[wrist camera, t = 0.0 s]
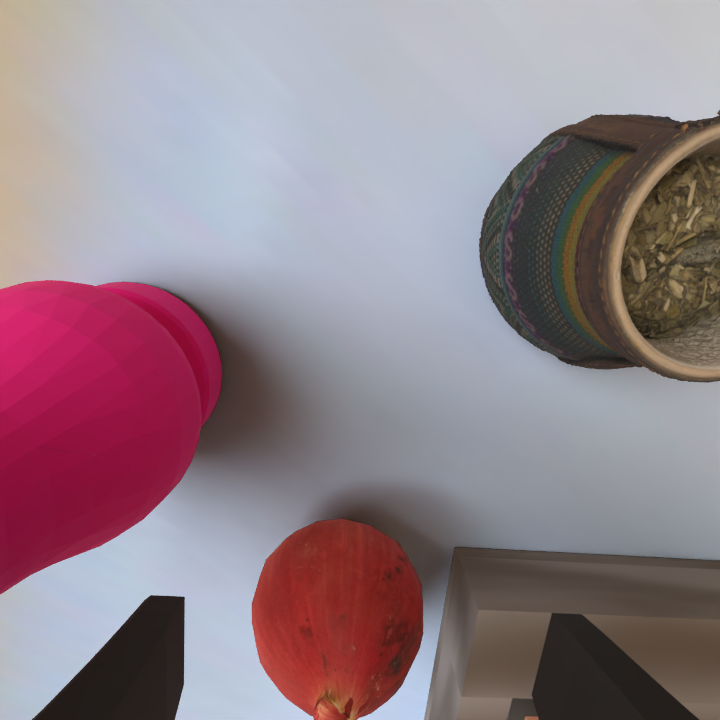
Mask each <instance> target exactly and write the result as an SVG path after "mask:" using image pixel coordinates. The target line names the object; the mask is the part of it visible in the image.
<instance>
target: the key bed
mask: <svg viewBox="0 0 720 720" xmlns="http://www.w3.org/2000/svg"><path fill="white" fill-rule="evenodd" d="M552 613H565V614H582V615H583V616H584V617H586V618H587V619H588V620H589V621H590V622H591V623H593V624H594V625H595V626H596V627H597V628H598V629H599V630H601V631H602V632H603V633H604V634H605V635H606V636H607V637H608V638H609V639H611V640H612V641H613V642H614V643H615V644H616V645H617V646H618V647H619V648H620V649H622V650H623V651H624V652H625V653H626V654H627V655H628V656H629V657H630V658H631V659H632V660H634V661H635V662H636V663H637V664H638V665H639V666H640V667H641V668H642V669H643V670H645V671H646V672H647V673H648V674H649V675H650V676H651V677H652V678H653V679H654V680H656V681H657V682H658V683H659V684H660V685H661V686H662V687H663V688H664V689H665V690H667V691H668V692H669V693H670V694H671V695H672V696H673V697H674V698H675V699H677V700H678V701H679V702H680V703H681V704H682V705H683V706H684V707H686V708H687V709H688V710H689V711H690V712H691V713H692V714H694V715H695V716H696V717H697V718H698V719H699V720H720V561H711V560H692V559H673V558H654V557H634V556H615V555H596V554H577V553H558V552H538V551H519V550H500V549H481V548H462V547H455V548H454V553H453V559H452V565H451V571H450V576H449V582H448V588H447V593H446V599H445V605H444V611H443V616H442V622H441V628H440V633H439V639H438V645H437V650H436V656H435V662H434V668H433V673H432V679H431V685H430V690H429V696H428V702H427V707H426V713H425V719H424V720H525V716H534V717H538V715H537V712H536V708H535V705H534V701H533V698H532V691H533V687H534V683H535V679H536V675H537V671H538V667H539V663H540V659H541V655H542V651H543V647H544V643H545V639H546V635H547V631H548V627H549V623H550V619H551V615H552Z"/></svg>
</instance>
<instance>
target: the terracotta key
mask: <svg viewBox="0 0 720 720" xmlns="http://www.w3.org/2000/svg"><path fill="white" fill-rule="evenodd" d="M525 720H539V719H538V717H534V716H525Z"/></svg>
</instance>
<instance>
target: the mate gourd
mask: <svg viewBox="0 0 720 720" xmlns="http://www.w3.org/2000/svg"><path fill="white" fill-rule="evenodd" d="M717 114H719V116H717V117H714V118H709V119H702V120H697V121H687V122H679V121H674V120H672V119H670V118H669V117H660V116H656V117H655V116H651V115H635V114H634V115H631V114H629V115H602V114H601V115H595V116H591V117H590V118H587V119H585V120H583V121H581V122H578V123H577V124H572V125H568V126H566V127H563V128H561V129H559V130H557V131H555V132H553V133H551V134H549V136H547V137H546V138H544V140H543V141H542V142H541V143H540V144H539V145H538V146H537V147H536V148H534V149H533V150H532V151H531V152H530V153H529V154H528V155H527V156H526V157H524V159H523V160H522V161H521V162H520V163H518V165H517V166H516V167H515V168H514V169H513V170H512V171H511V172H510V175H509V176H508V177H507V179H506V180H505V182H504V183H503V184H502V186H501V187H500V189H499V190H498V191H497V193H496V194H495V196H494V197H493V199H492V200H491V203H490V205H489V207H488V208H487V210H486V213H485V215H484V216H485V218H484V219H483V225H482V228H481V229H482V230H481V238H480V239H479V242H480V244H479V247H480V249H479V251H480V261H481V268H482V273H483V277H484V278H485V283H486V287H487V288H488V292H489V295H490V296H491V298H492V299H491V300H493V303H495V305H496V307H497V308H498V310H499V312H500V313H501V315H502V316H503V317H504V319H505V321H507V323H508V324H509V325H510V326H511V327H512V328H513V329H515V330H516V331H517V333H518V334H519V335H520V336H522V337H523V338H524V339H526V340H527V341H529V342H530V343H531V344H533V345H534V346H537V348H540V349H541V350H543V351H547V352H549V353H551V354H553V355H555V356H556V357H557V358H558V359H559V360H561V361H563V362H565V363H567V364H571V365H575V366H580V367H585V368H595V369H618V368H626V367H635V366H637V367H642V366H644V367H646V368H648V369H649V370H650V371H652V372H656V373H657V374H660V375H662V376H664V377H668V378H671V379H672V378H673V379H677V380H680V381H689V382H714V381H720V110H719V111H718V113H717Z"/></svg>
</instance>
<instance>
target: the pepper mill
mask: <svg viewBox="0 0 720 720" xmlns="http://www.w3.org/2000/svg"><path fill="white" fill-rule="evenodd" d="M221 385H222V365H221V360H220V355H219V352H218V349H217V346H216V343H215V341H214V339H213V337H212V335H211V333H210V331H209V330H208V328H207V327H206V325H205V323H204V322H203V321H202V320H201V319H200V318H199V316H198V315H197V314H196V313H195V312H194V311H193V310H192V309H191V308H190V307H189V306H188V305H186V304H185V303H184V302H182V301H181V300H180V299H178V298H177V297H175V296H173V295H171V294H170V293H168V292H165V291H163V290H161V289H159V288H156V287H153V286H149V285H146V284H139V283H131V282H115V283H107V284H103V285H98V286H93V285H87V284H80V283H74V282H66V281H53V280H45V281H35V282H25V283H21V284H18V285H14V286H10V287H7V288H3V289H0V594H2V593H3V592H5V591H6V590H8V589H9V588H11V587H12V586H14V585H16V584H17V583H19V582H20V581H22V580H23V579H25V578H26V577H28V576H30V575H31V574H34V573H36V572H38V571H40V570H42V569H44V568H46V567H48V566H50V565H52V564H55V563H57V562H60V561H62V560H65V559H68V558H70V557H73V556H75V555H78V554H81V553H83V552H86V551H88V550H91V549H93V548H96V547H99V546H101V545H103V544H104V543H106V542H108V541H110V540H112V539H113V538H115V537H117V536H118V535H120V534H121V533H123V532H125V531H126V530H128V529H129V528H131V527H132V526H134V525H135V524H137V523H138V522H140V521H141V520H143V519H144V518H145V517H146V516H147V515H148V514H149V513H150V512H151V511H152V510H153V509H154V508H155V507H156V506H157V505H158V504H159V503H160V502H161V501H162V500H163V499H164V498H165V497H166V496H167V495H168V494H169V493H170V492H171V491H172V490H173V488H174V487H175V486H176V485H177V484H178V483H179V482H180V481H181V479H182V477H183V476H184V474H185V472H186V470H187V469H188V467H189V465H190V464H191V462H192V459H193V457H194V454H195V451H196V448H197V445H198V442H199V436H200V429H201V427H202V426H203V424H204V423H205V422H206V421H207V419H208V418H209V417H210V415H211V414H212V412H213V410H214V408H215V406H216V404H217V401H218V399H219V395H220V391H221Z"/></svg>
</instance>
